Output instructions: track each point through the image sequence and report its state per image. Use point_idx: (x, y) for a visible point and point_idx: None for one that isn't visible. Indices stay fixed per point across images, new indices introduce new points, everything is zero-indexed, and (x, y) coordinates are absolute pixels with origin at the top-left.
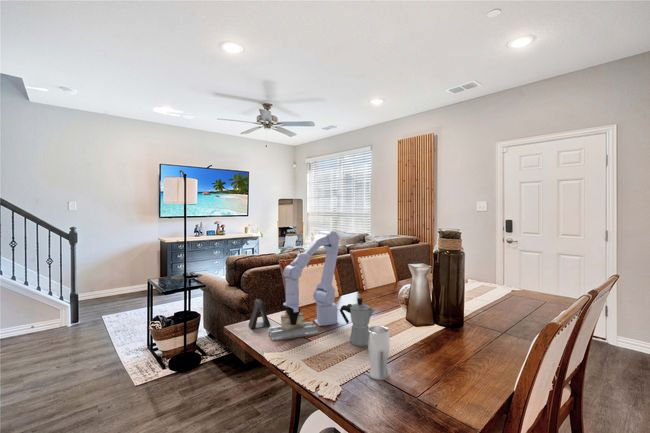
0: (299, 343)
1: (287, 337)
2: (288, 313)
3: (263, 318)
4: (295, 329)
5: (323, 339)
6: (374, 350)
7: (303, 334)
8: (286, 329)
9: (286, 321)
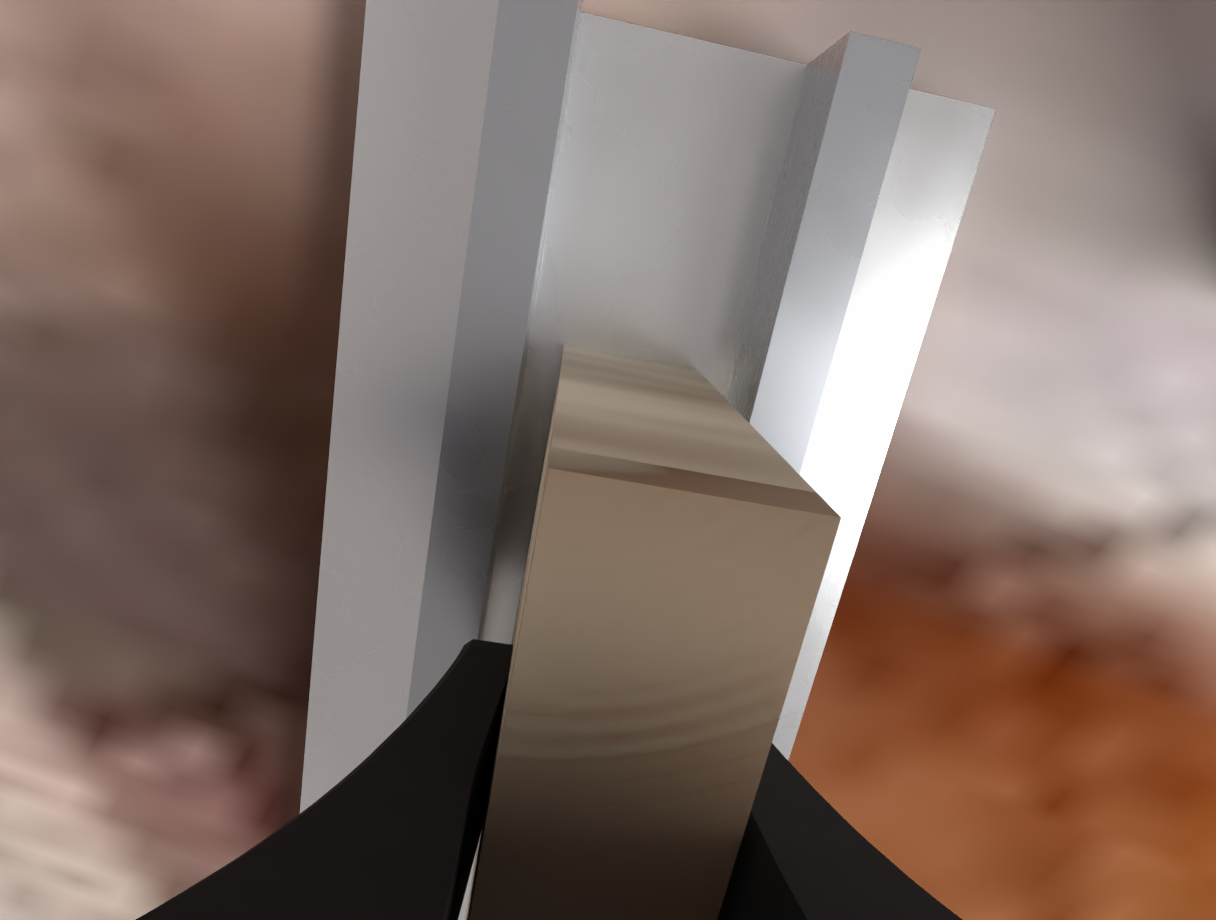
0: (18, 508)
1: (344, 386)
2: (774, 887)
3: None
4: (417, 655)
5: (48, 912)
6: None
7: (312, 717)
8: (489, 460)
9: (527, 572)
